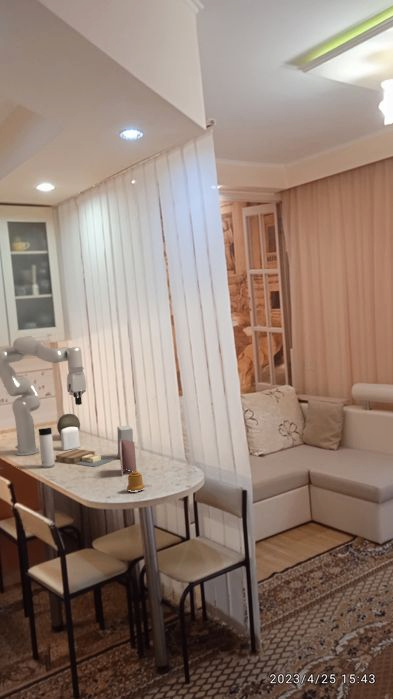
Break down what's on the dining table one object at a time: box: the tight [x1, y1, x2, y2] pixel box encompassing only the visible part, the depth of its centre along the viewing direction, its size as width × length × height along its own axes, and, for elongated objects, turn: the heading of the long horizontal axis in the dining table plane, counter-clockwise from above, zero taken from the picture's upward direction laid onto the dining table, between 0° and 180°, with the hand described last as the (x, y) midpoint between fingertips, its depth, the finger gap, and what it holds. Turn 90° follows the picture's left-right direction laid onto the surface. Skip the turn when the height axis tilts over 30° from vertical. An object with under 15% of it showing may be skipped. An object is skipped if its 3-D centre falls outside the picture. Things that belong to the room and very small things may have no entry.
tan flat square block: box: [55, 448, 96, 465], centre depth 305 cm, size 14×14×3 cm
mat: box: [74, 456, 116, 468], centre depth 296 cm, size 14×14×1 cm
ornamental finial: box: [126, 471, 146, 491], centre depth 245 cm, size 8×8×8 cm
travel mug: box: [38, 427, 56, 469], centre depth 293 cm, size 6×7×20 cm
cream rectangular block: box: [82, 454, 102, 463], centre depth 298 cm, size 8×6×2 cm
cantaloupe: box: [56, 413, 81, 436], centre depth 355 cm, size 14×14×15 cm
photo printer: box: [60, 427, 81, 451], centre depth 328 cm, size 10×4×12 cm, turn 123°
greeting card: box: [119, 439, 138, 475], centre depth 273 cm, size 11×7×15 cm, turn 4°
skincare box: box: [116, 425, 134, 459], centre depth 301 cm, size 8×7×16 cm
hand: (78, 404), depth 312 cm, fingers closed
